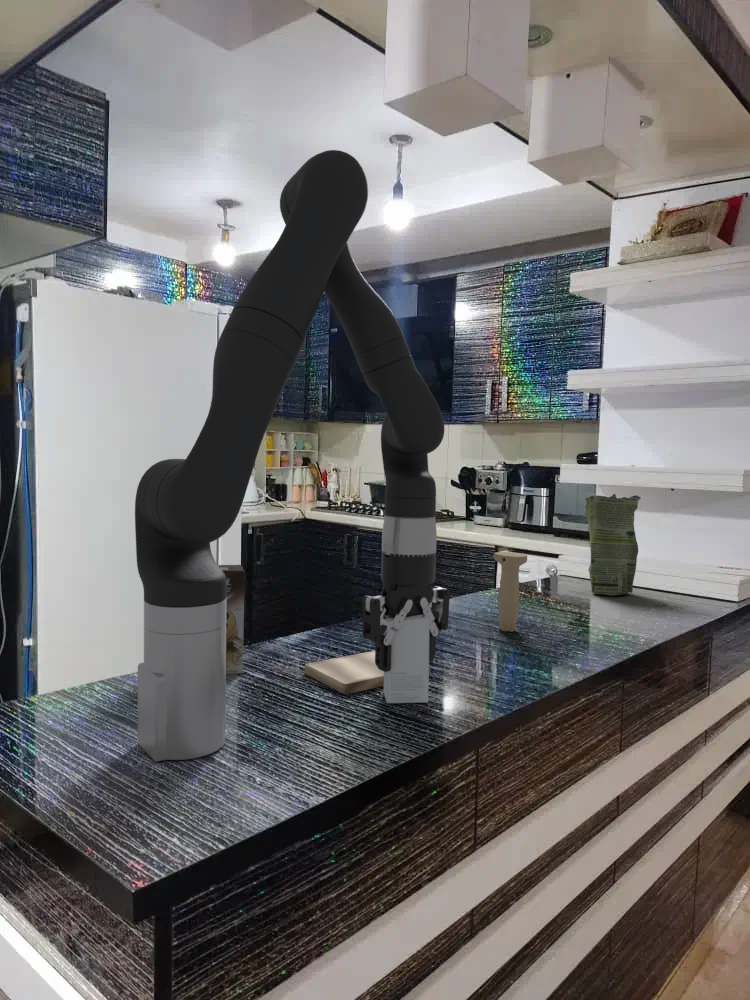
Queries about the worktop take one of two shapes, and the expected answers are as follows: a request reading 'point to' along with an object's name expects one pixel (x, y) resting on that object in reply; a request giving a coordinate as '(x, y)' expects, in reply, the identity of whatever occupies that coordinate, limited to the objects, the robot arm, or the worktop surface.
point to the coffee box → (234, 617)
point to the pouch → (612, 543)
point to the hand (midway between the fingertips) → (405, 665)
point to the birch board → (348, 672)
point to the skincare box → (409, 662)
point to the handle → (509, 588)
